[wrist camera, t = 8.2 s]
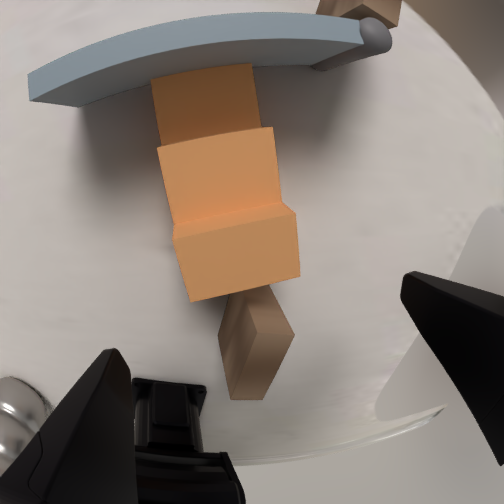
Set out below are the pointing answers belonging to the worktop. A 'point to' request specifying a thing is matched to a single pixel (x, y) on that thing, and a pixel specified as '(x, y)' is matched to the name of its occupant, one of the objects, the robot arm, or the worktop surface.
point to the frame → (262, 298)
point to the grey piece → (205, 51)
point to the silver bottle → (17, 419)
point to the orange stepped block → (222, 183)
